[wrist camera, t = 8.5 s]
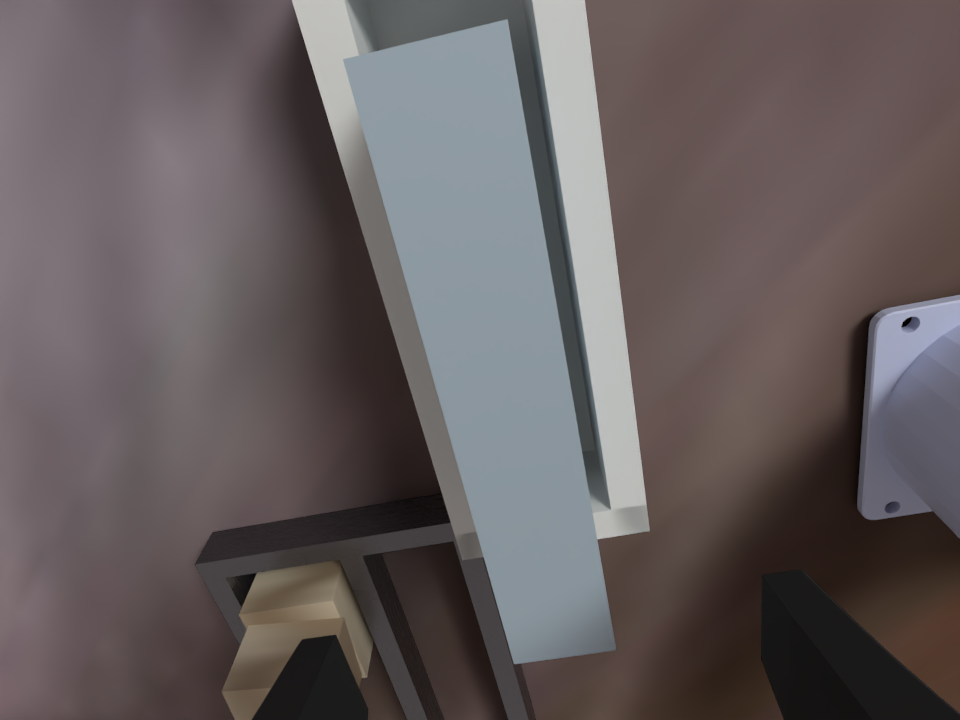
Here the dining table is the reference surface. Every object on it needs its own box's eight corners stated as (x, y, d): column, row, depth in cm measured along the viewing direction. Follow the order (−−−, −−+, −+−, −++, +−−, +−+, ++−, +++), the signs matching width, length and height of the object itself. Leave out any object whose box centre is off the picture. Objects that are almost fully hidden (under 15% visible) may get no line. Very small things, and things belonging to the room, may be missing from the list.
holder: (557, -103, 14) (578, -145, 11) (631, 457, 21) (656, 529, 18) (310, -38, 15) (262, -60, 12) (460, 486, 22) (455, 561, 19)
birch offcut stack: (350, 547, 23) (318, 665, 19) (380, 621, 25) (357, 744, 21) (258, 561, 24) (206, 681, 19) (294, 633, 26) (254, 758, 21)
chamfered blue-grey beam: (496, 31, 15) (507, 19, 8) (570, 438, 20) (616, 650, 13) (409, 52, 15) (342, 59, 8) (504, 449, 21) (513, 664, 13)
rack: (472, 488, 22) (471, 519, 21) (565, 825, 32) (569, 862, 30) (212, 532, 23) (194, 564, 22) (378, 846, 33) (373, 882, 31)
